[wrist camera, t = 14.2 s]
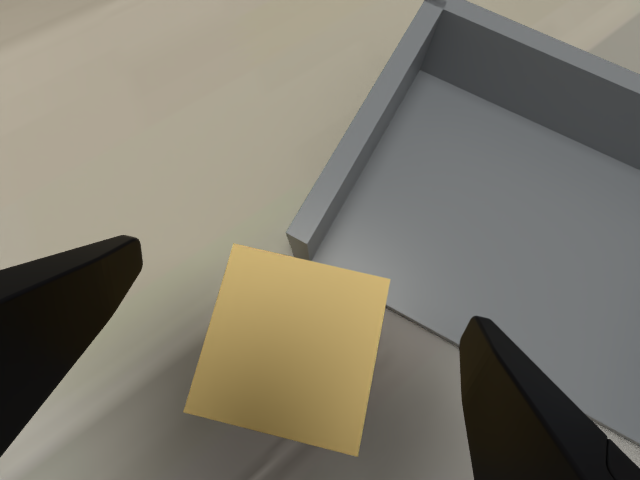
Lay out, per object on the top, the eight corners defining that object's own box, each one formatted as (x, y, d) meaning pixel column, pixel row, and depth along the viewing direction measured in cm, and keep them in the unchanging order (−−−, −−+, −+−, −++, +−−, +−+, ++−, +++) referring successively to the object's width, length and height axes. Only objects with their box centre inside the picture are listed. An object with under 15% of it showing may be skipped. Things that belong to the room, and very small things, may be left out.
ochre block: (337, 388, 21) (358, 456, 10) (256, 368, 22) (183, 412, 10) (354, 305, 23) (390, 278, 11) (277, 287, 23) (233, 243, 11)
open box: (664, 460, 20) (801, 511, 15) (294, 256, 23) (285, 232, 18) (736, 209, 24) (868, 171, 18) (408, 60, 27) (432, -14, 21)
